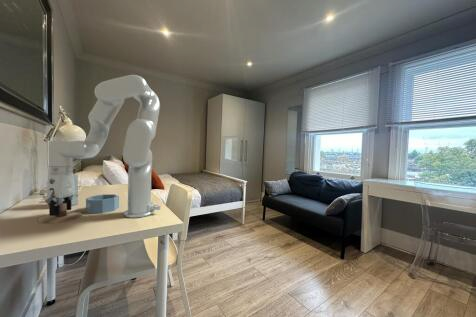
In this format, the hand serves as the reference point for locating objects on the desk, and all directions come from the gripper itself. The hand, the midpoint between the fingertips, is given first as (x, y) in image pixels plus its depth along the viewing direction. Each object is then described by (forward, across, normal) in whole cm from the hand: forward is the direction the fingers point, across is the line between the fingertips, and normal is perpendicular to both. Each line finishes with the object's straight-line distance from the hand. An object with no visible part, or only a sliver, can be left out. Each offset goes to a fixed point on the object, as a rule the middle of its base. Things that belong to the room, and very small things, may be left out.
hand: (60, 212), depth 83 cm
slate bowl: (+2, +11, -11) cm, 16 cm away
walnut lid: (+3, 0, 0) cm, 3 cm away
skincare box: (+2, +19, +10) cm, 22 cm away
